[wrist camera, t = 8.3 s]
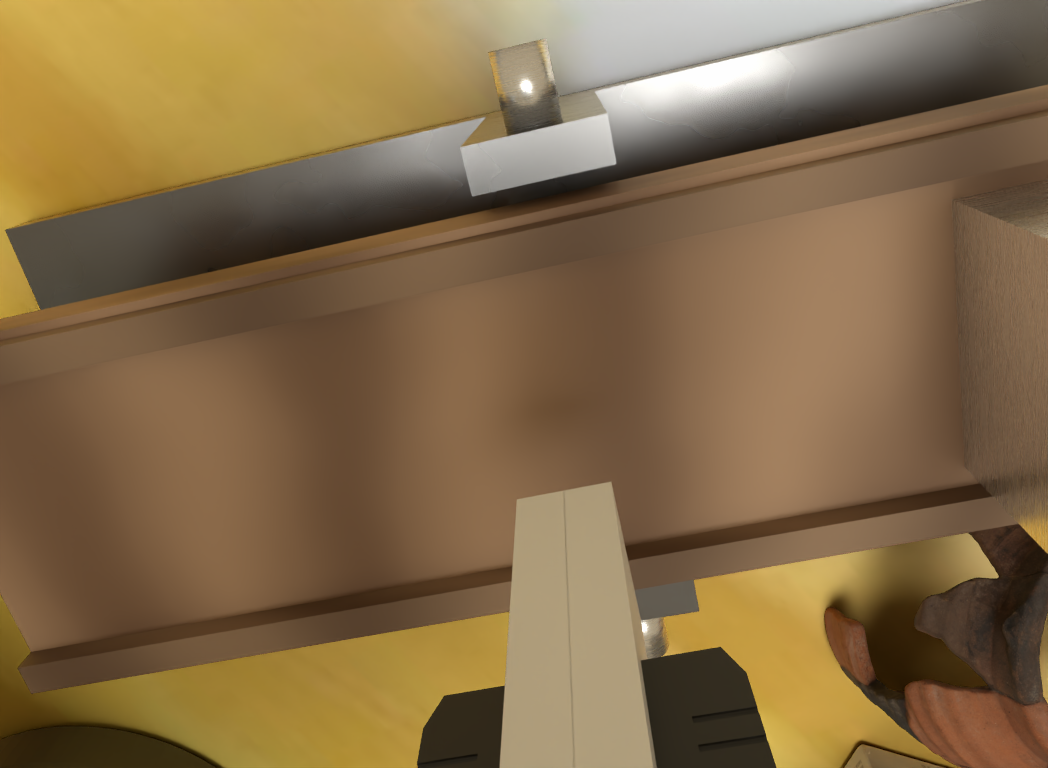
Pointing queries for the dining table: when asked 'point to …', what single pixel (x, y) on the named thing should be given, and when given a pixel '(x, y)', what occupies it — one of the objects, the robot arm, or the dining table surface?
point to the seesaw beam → (502, 401)
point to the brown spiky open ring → (973, 661)
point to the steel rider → (1005, 346)
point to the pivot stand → (544, 158)
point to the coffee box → (883, 759)
